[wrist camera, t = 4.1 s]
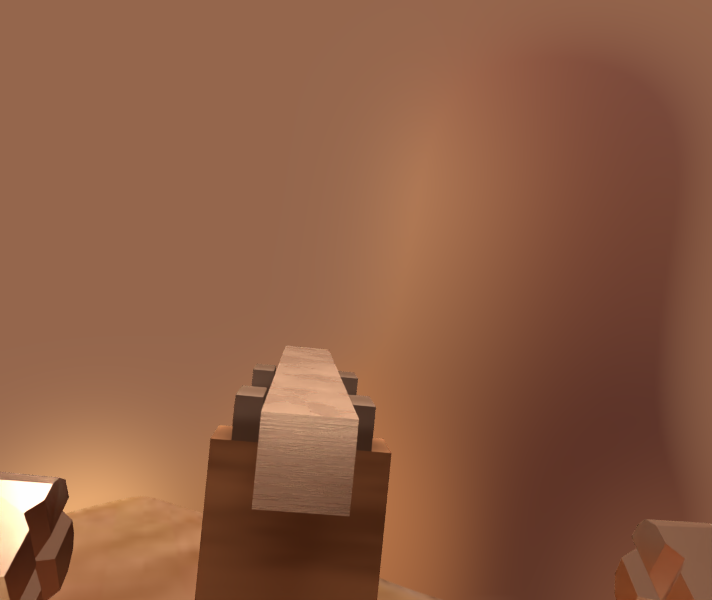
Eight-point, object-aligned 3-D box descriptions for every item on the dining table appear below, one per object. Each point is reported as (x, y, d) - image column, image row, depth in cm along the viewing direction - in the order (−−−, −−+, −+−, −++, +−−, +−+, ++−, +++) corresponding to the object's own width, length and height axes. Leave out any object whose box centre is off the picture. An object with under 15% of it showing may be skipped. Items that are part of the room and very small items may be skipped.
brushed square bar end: (349, 516, 20) (359, 419, 20) (251, 509, 20) (261, 410, 20) (324, 392, 46) (328, 349, 46) (281, 388, 46) (285, 345, 46)
